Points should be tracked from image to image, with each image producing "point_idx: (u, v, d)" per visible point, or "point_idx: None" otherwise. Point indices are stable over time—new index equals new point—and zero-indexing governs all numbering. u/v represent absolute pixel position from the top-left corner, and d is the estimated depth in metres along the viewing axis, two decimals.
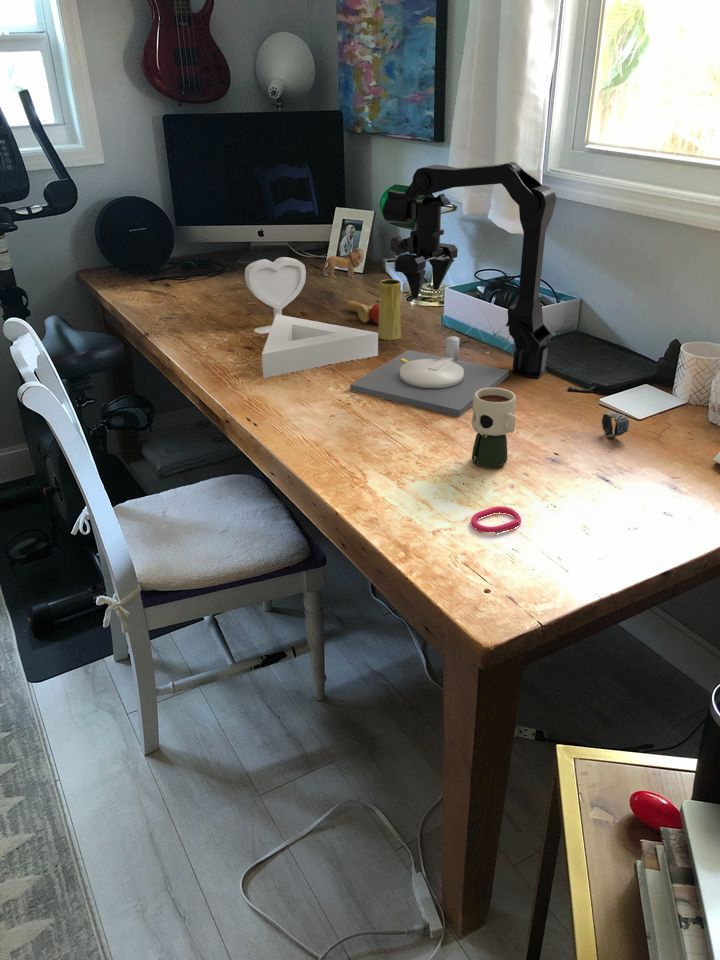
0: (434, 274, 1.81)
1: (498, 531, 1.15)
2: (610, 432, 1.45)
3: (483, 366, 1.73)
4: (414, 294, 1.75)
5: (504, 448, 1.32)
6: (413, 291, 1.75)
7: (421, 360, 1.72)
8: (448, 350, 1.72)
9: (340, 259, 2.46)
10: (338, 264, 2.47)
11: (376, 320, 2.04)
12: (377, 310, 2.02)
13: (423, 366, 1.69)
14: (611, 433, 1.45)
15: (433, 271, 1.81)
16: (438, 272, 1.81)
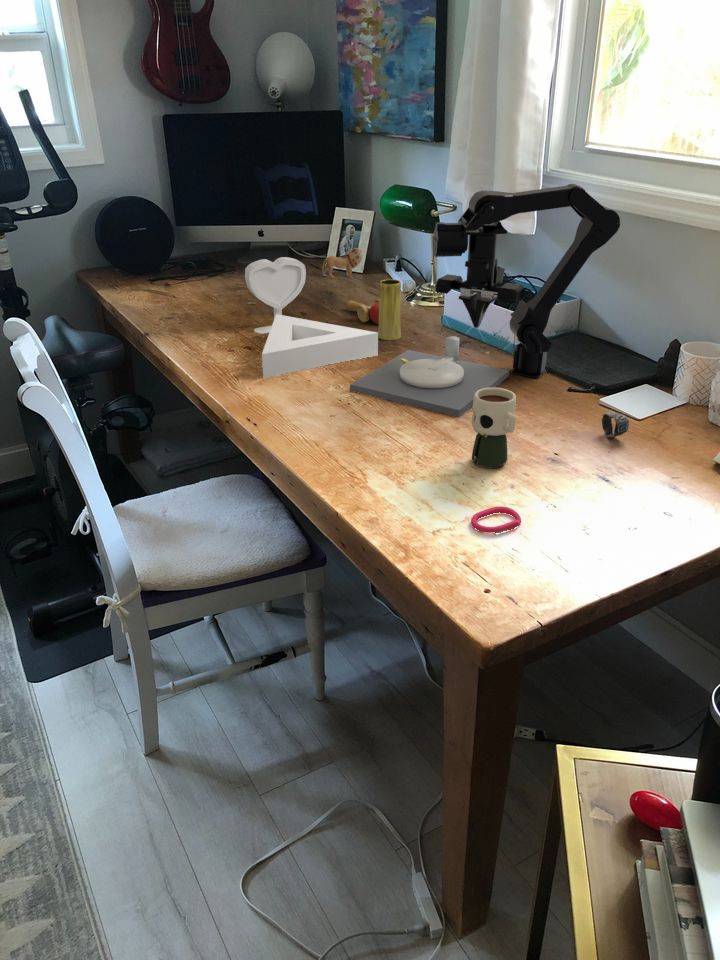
0: None
1: (498, 531, 1.15)
2: (610, 432, 1.45)
3: (483, 366, 1.73)
4: None
5: (504, 448, 1.32)
6: None
7: (421, 360, 1.72)
8: (448, 350, 1.72)
9: (338, 259, 2.46)
10: (336, 264, 2.47)
11: (375, 320, 2.04)
12: (376, 310, 2.02)
13: (423, 366, 1.69)
14: (611, 433, 1.45)
15: None
16: None
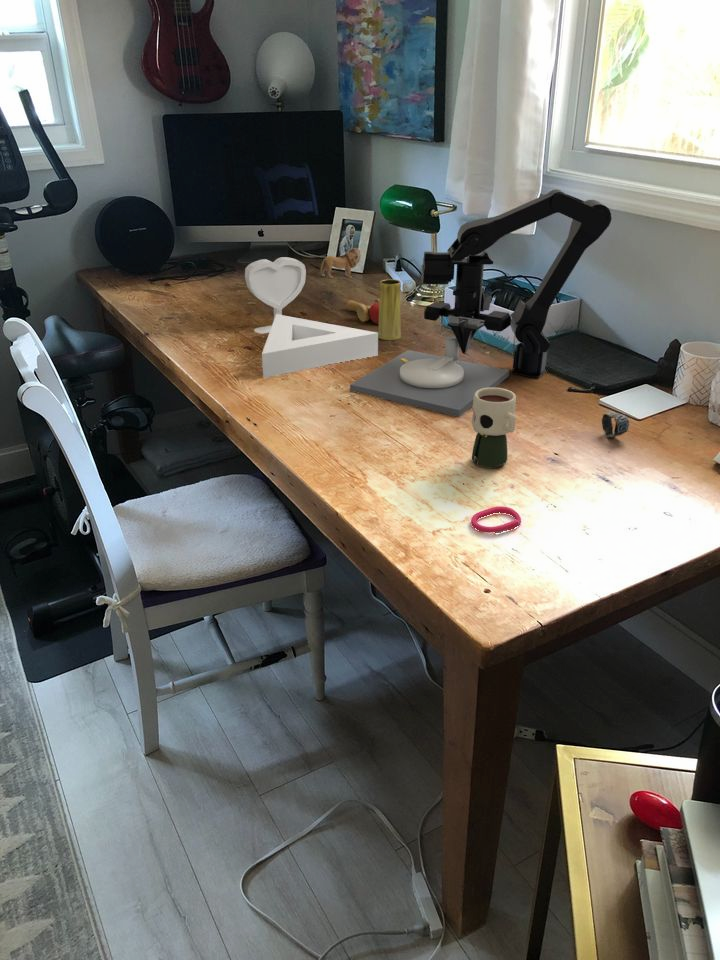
0: None
1: (498, 531, 1.15)
2: (610, 432, 1.45)
3: (483, 366, 1.73)
4: None
5: (504, 448, 1.32)
6: None
7: (421, 360, 1.72)
8: (448, 350, 1.72)
9: (337, 259, 2.46)
10: (335, 264, 2.47)
11: (374, 320, 2.04)
12: (376, 310, 2.02)
13: (423, 366, 1.69)
14: (611, 433, 1.45)
15: None
16: None
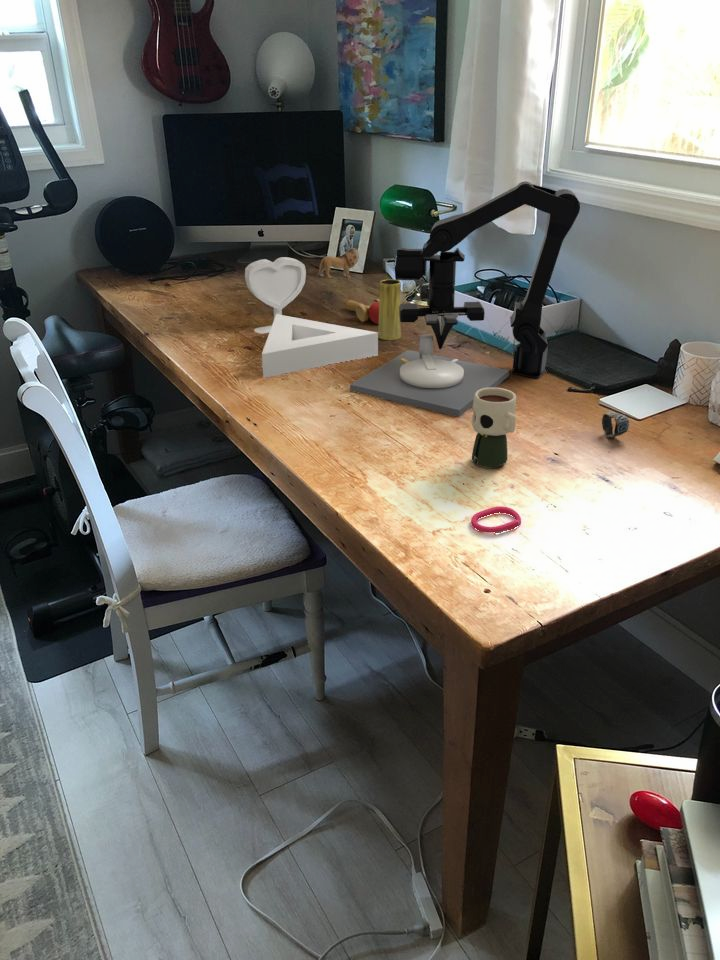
0: None
1: (498, 531, 1.15)
2: (610, 432, 1.45)
3: (483, 366, 1.73)
4: None
5: (504, 448, 1.32)
6: None
7: (408, 364, 1.70)
8: (426, 349, 1.73)
9: (336, 259, 2.46)
10: (334, 264, 2.47)
11: (373, 319, 2.04)
12: (375, 309, 2.03)
13: (419, 368, 1.67)
14: (611, 433, 1.45)
15: (441, 329, 1.73)
16: (441, 331, 1.72)
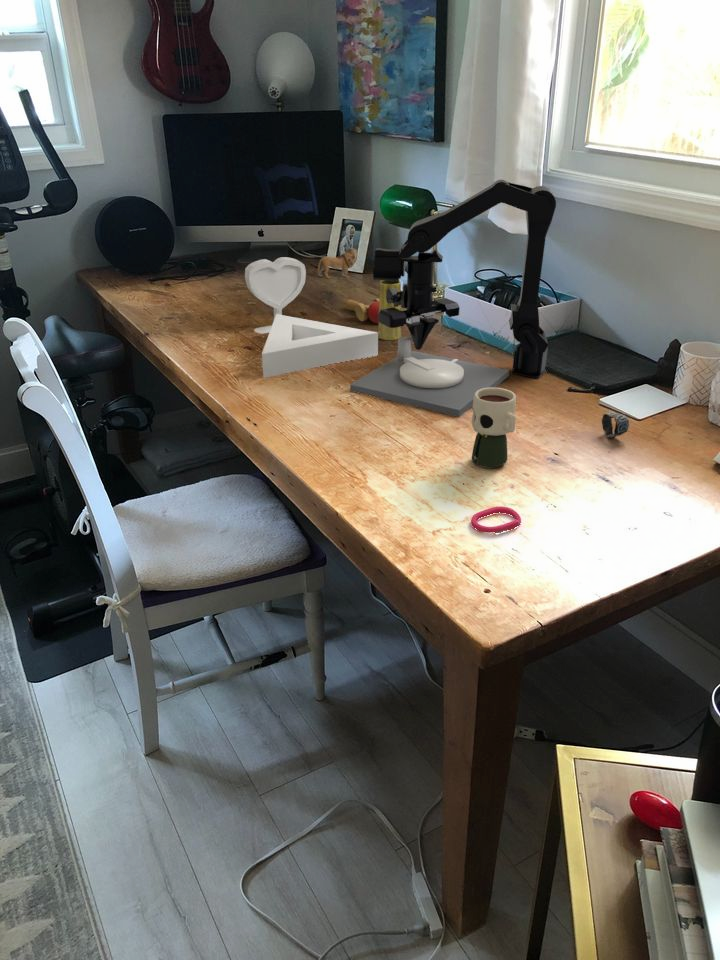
0: None
1: (498, 531, 1.15)
2: (610, 432, 1.45)
3: (483, 366, 1.73)
4: (416, 345, 1.74)
5: (504, 448, 1.32)
6: (414, 342, 1.74)
7: (404, 369, 1.67)
8: (407, 351, 1.72)
9: (334, 259, 2.46)
10: (332, 264, 2.47)
11: (373, 319, 2.04)
12: (374, 309, 2.03)
13: (419, 371, 1.66)
14: (611, 433, 1.45)
15: None
16: None
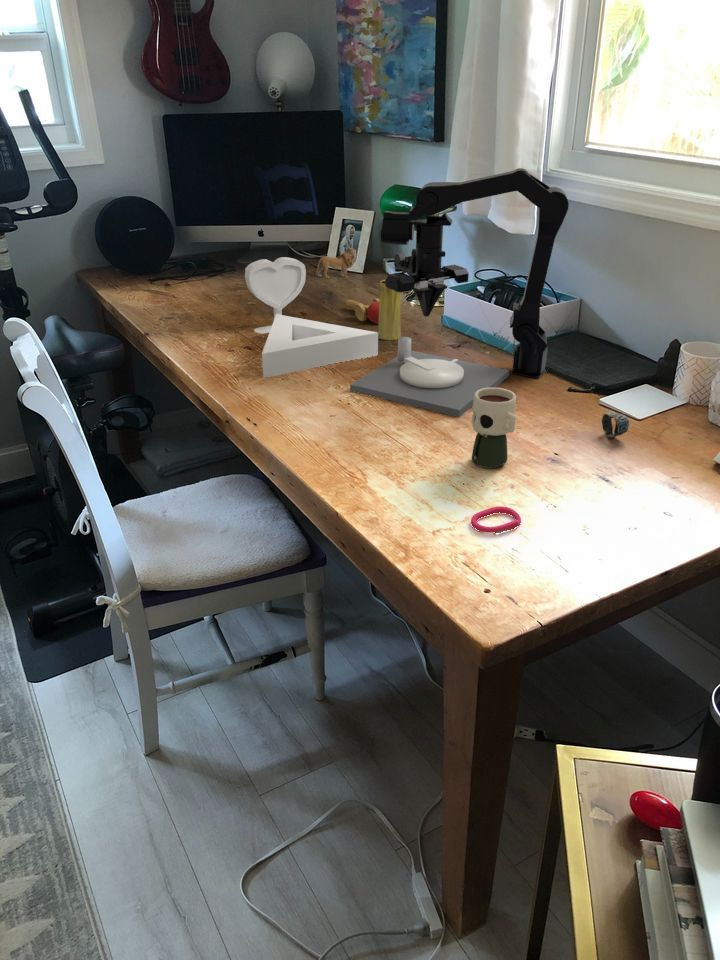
0: None
1: (498, 531, 1.15)
2: (610, 432, 1.45)
3: (483, 366, 1.73)
4: (424, 312, 1.71)
5: (504, 448, 1.32)
6: (422, 309, 1.71)
7: (404, 369, 1.67)
8: (407, 351, 1.72)
9: (333, 259, 2.46)
10: (331, 264, 2.47)
11: (372, 319, 2.04)
12: (374, 309, 2.03)
13: (419, 371, 1.66)
14: (611, 433, 1.45)
15: None
16: None
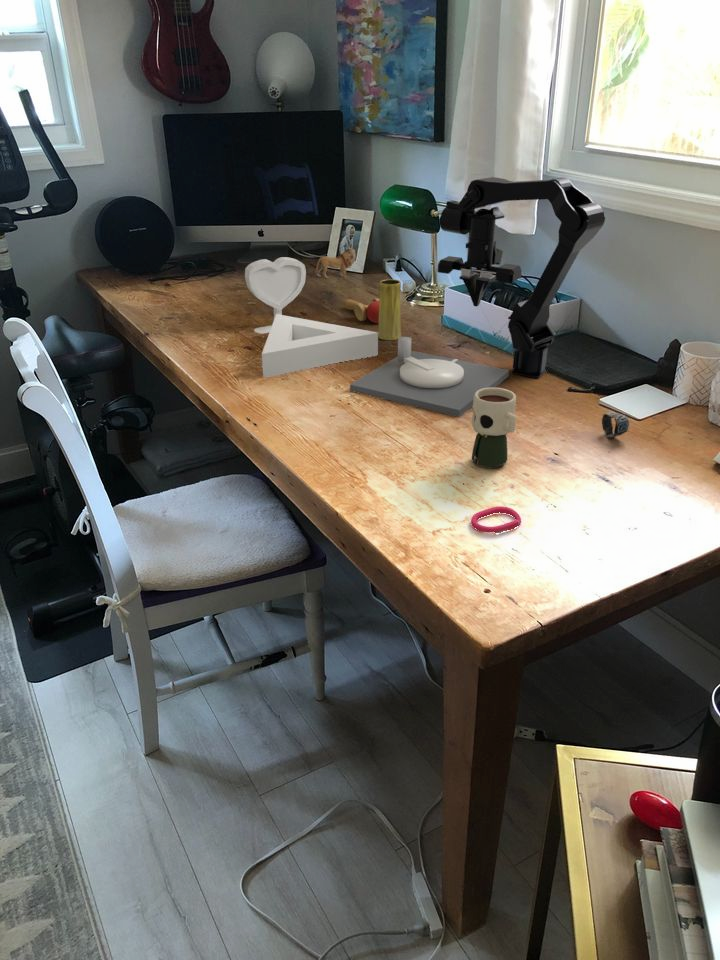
0: None
1: (498, 531, 1.15)
2: (610, 432, 1.45)
3: (483, 366, 1.73)
4: None
5: (504, 448, 1.32)
6: None
7: (404, 369, 1.67)
8: (407, 351, 1.72)
9: (332, 259, 2.46)
10: (330, 264, 2.47)
11: (372, 319, 2.04)
12: (373, 309, 2.03)
13: (419, 371, 1.66)
14: (611, 433, 1.45)
15: None
16: None
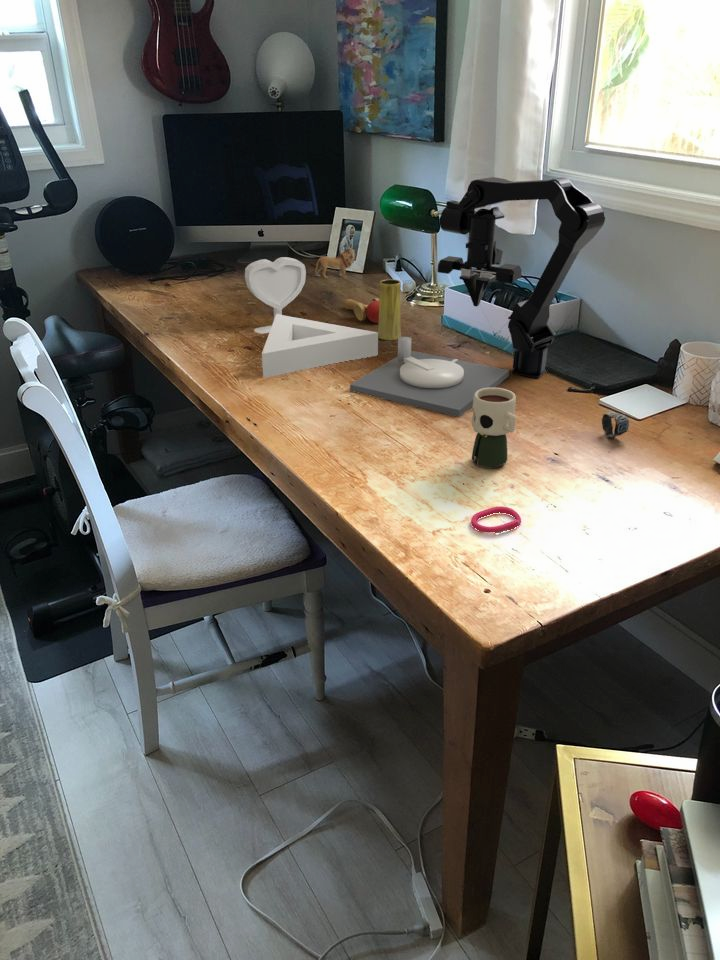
0: None
1: (498, 531, 1.15)
2: (610, 432, 1.45)
3: (483, 366, 1.73)
4: None
5: (504, 448, 1.32)
6: None
7: (404, 369, 1.67)
8: (407, 351, 1.72)
9: (332, 259, 2.46)
10: (330, 264, 2.47)
11: (371, 318, 2.05)
12: (373, 308, 2.03)
13: (419, 371, 1.66)
14: (611, 433, 1.45)
15: None
16: None
